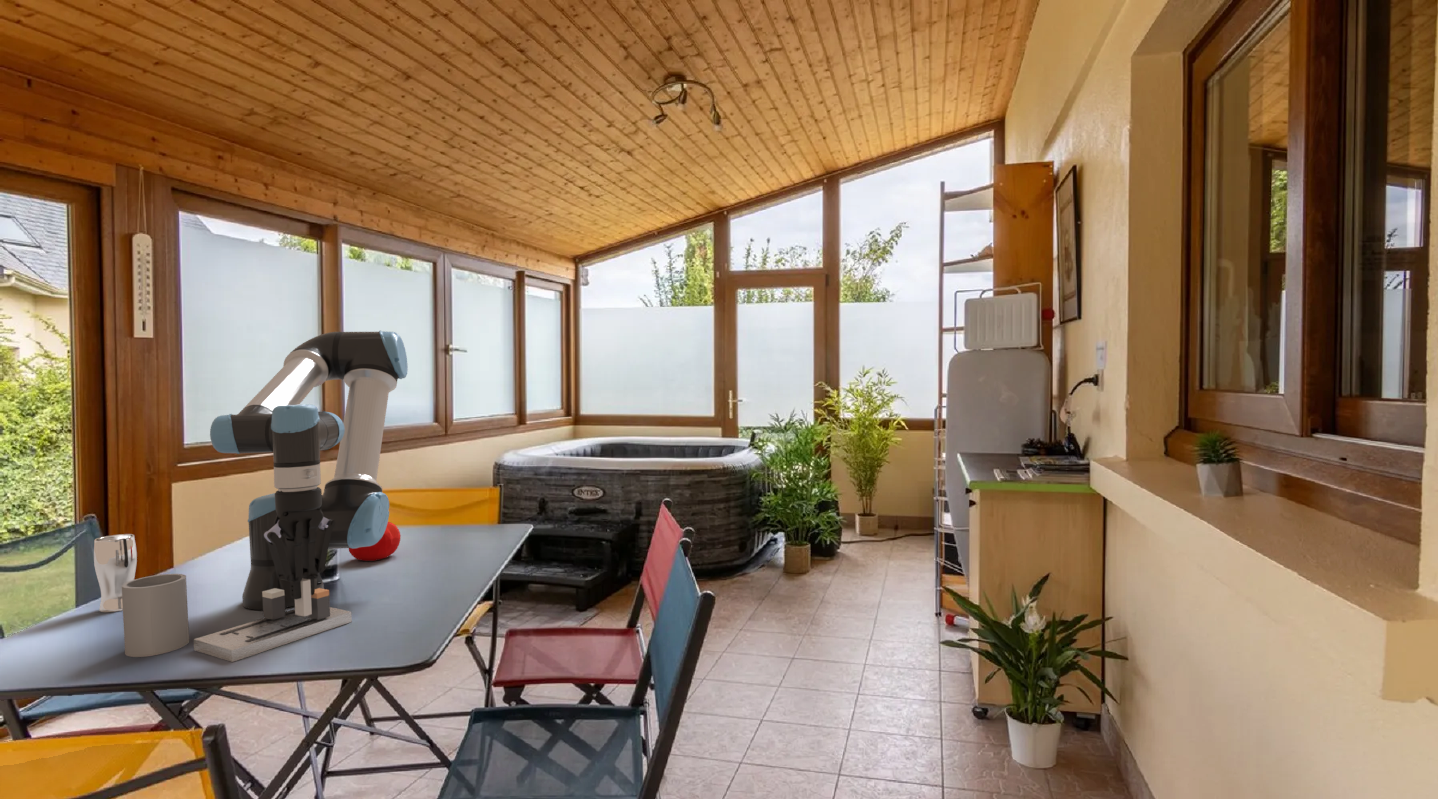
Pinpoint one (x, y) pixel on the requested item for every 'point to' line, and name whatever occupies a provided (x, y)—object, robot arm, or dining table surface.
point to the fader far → (273, 603)
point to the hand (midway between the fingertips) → (303, 614)
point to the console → (266, 634)
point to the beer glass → (114, 568)
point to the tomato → (379, 546)
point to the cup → (155, 614)
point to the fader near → (320, 604)
